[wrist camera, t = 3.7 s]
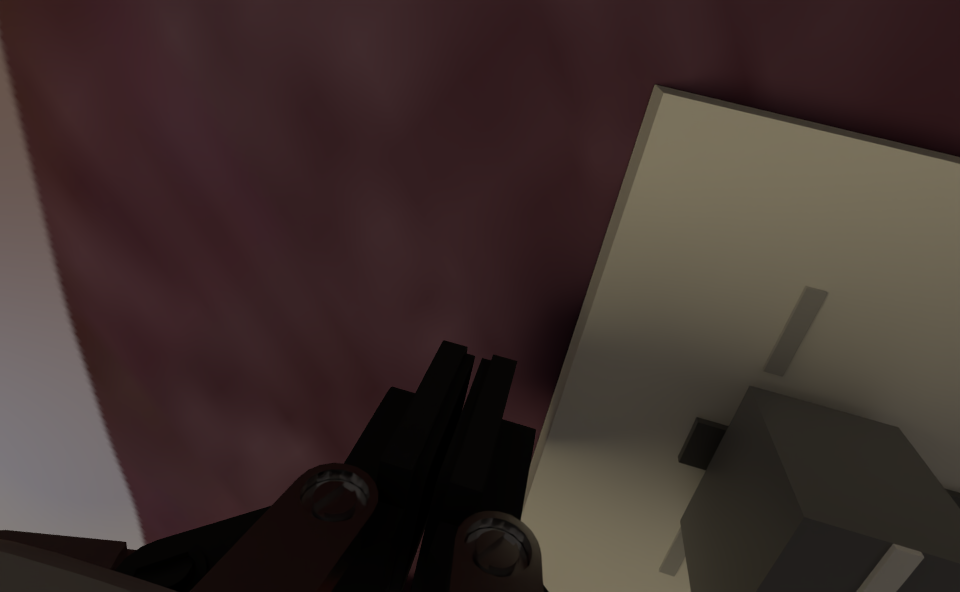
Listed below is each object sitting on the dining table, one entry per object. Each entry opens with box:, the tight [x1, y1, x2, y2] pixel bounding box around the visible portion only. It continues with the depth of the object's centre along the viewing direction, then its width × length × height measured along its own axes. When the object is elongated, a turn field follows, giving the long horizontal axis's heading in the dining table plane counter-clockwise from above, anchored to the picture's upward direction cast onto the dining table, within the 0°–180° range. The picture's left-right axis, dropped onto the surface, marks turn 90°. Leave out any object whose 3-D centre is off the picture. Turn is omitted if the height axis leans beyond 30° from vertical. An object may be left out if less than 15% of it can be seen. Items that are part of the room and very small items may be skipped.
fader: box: [680, 386, 960, 592], centre depth 11 cm, size 4×3×4 cm
